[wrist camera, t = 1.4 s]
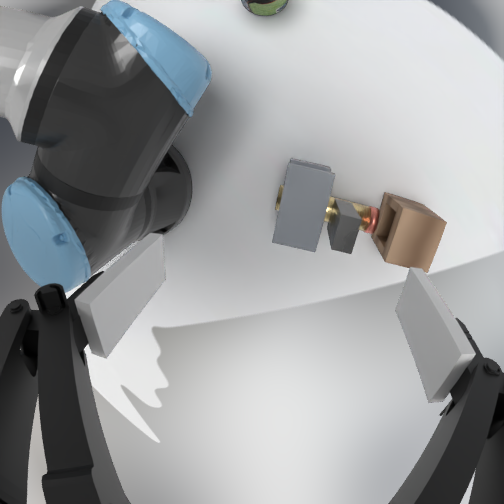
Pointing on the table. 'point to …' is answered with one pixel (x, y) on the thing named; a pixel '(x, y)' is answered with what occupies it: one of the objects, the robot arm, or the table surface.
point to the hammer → (345, 221)
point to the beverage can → (264, 6)
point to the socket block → (407, 232)
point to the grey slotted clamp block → (303, 204)
